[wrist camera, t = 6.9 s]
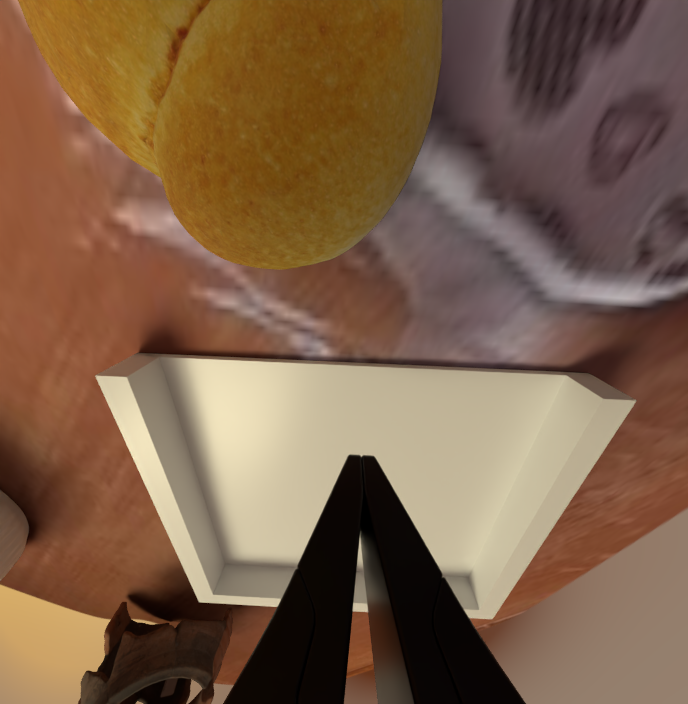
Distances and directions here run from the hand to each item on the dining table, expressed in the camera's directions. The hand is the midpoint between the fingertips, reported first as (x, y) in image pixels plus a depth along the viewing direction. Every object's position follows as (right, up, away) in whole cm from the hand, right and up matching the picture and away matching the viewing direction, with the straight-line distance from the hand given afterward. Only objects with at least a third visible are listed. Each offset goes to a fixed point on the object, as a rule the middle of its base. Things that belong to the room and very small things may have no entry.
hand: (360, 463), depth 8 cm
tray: (0, -5, +7) cm, 8 cm away
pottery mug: (-16, -20, +16) cm, 30 cm away
